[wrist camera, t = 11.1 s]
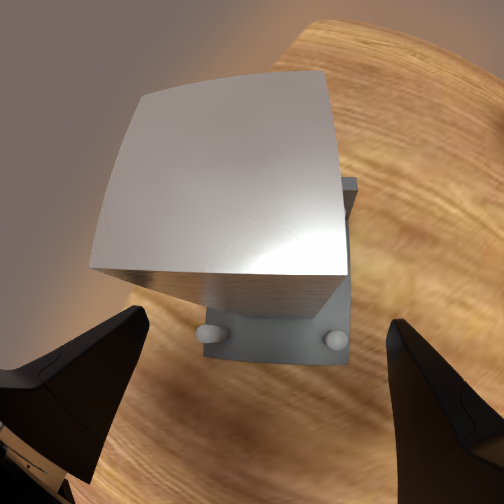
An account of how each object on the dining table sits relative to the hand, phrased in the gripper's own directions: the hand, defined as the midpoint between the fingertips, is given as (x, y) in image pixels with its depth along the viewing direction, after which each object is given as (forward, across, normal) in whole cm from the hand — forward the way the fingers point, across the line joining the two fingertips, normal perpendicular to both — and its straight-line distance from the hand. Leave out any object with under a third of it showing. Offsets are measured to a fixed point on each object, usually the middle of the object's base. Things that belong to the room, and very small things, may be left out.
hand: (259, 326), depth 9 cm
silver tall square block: (+7, 0, +3) cm, 8 cm away
